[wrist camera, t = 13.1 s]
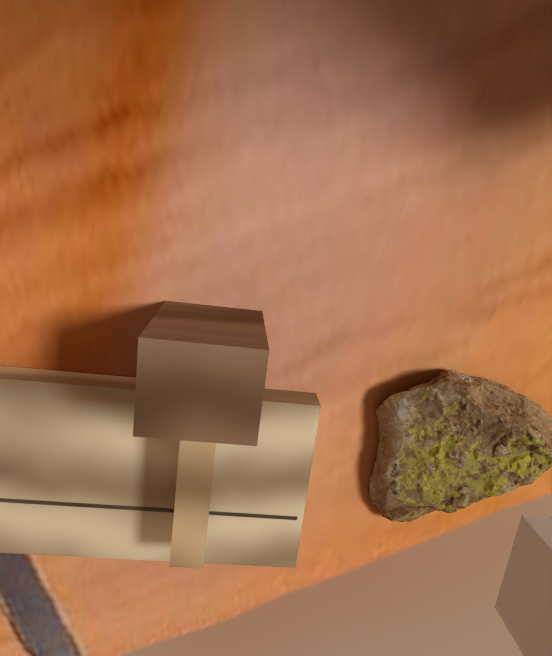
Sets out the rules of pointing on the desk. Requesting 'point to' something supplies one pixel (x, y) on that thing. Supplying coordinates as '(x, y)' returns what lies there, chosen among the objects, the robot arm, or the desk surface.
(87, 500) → the board
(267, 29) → the desk surface
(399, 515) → the rock
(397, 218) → the desk surface
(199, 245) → the desk surface
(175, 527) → the brown blocky t-shaped piece
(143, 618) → the desk surface
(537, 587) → the robot arm
